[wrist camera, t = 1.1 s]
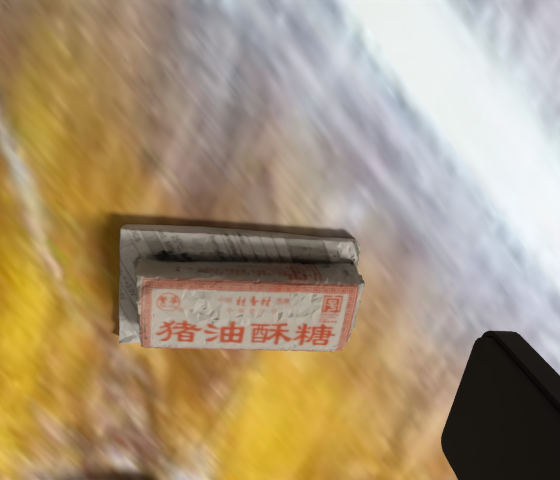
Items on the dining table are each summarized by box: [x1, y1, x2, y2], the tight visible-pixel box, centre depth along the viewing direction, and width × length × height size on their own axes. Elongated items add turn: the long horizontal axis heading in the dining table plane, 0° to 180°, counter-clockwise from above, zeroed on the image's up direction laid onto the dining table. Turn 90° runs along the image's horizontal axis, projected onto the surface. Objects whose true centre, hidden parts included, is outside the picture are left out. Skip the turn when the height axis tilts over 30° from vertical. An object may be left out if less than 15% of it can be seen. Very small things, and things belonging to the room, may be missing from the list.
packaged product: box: [119, 224, 365, 352], centre depth 39 cm, size 18×5×10 cm
